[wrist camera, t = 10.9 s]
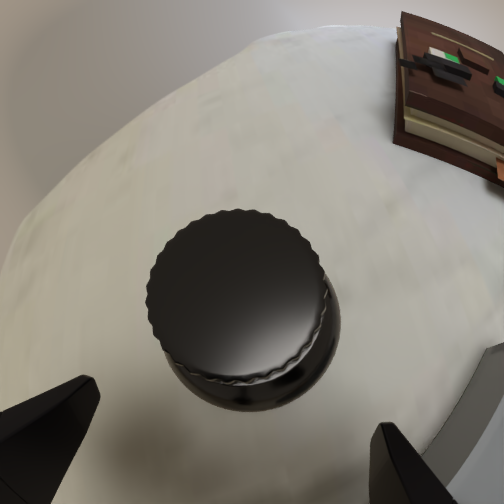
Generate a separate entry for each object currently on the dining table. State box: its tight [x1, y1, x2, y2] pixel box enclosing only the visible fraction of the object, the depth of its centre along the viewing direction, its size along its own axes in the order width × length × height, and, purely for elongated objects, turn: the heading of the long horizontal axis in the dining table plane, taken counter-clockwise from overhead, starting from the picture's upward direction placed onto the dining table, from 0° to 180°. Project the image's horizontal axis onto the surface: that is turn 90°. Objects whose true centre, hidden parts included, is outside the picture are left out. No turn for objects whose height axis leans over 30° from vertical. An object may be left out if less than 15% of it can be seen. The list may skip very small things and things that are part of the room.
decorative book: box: [393, 11, 504, 188], centre depth 25 cm, size 19×8×30 cm
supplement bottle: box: [145, 209, 341, 412], centre depth 13 cm, size 7×7×12 cm
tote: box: [421, 342, 504, 504], centre depth 9 cm, size 18×14×5 cm
